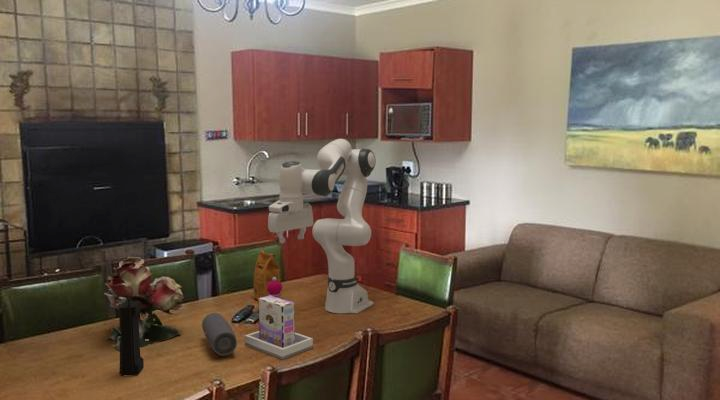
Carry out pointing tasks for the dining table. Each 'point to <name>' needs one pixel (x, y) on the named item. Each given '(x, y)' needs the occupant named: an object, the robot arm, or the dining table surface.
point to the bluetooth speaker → (219, 334)
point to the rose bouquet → (143, 299)
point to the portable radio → (130, 339)
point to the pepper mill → (274, 288)
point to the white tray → (300, 346)
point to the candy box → (276, 321)
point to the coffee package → (264, 274)
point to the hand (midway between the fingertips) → (291, 240)
